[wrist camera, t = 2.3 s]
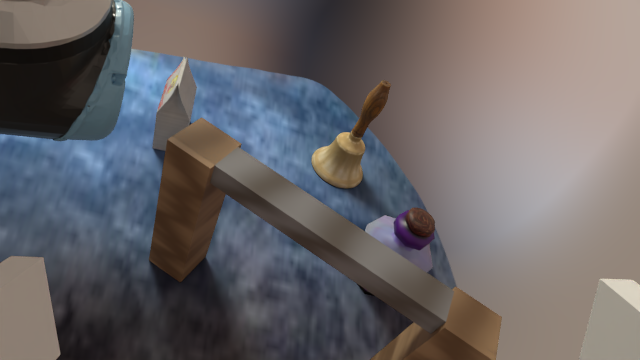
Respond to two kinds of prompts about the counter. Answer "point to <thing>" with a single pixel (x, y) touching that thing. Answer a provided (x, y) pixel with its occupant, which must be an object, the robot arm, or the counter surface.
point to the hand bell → (350, 145)
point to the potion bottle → (406, 236)
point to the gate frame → (308, 244)
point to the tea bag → (175, 105)
